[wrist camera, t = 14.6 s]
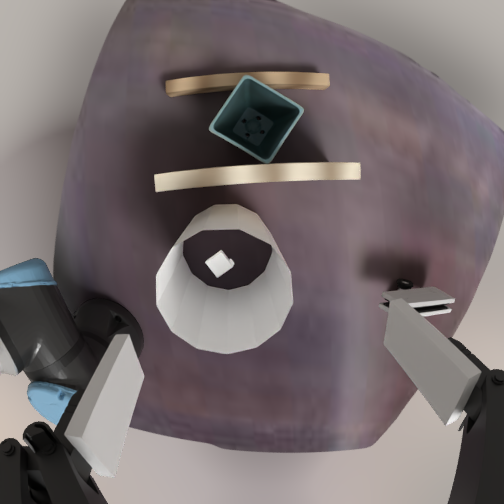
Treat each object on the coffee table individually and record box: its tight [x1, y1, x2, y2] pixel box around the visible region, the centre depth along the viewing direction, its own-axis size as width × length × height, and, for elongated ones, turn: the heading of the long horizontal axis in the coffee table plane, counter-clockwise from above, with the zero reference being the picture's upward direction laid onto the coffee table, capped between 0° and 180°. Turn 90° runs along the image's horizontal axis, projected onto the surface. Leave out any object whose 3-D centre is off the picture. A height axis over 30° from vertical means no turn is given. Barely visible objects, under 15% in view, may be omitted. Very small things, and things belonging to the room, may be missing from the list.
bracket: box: [379, 279, 455, 316], centre depth 46 cm, size 4×10×15 cm
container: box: [156, 204, 293, 354], centre depth 38 cm, size 14×14×18 cm
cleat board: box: [154, 72, 360, 192], centre depth 35 cm, size 24×16×12 cm, turn 94°
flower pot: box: [209, 75, 304, 164], centre depth 36 cm, size 9×9×9 cm
